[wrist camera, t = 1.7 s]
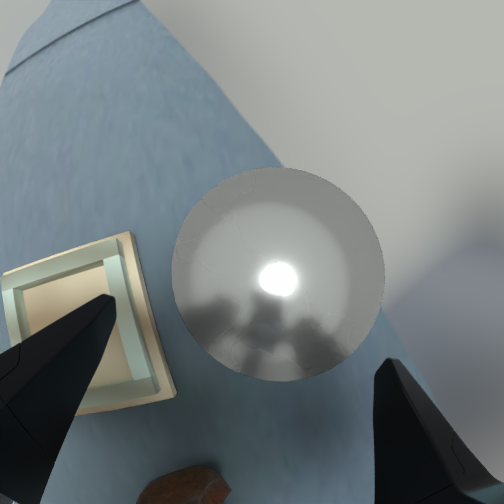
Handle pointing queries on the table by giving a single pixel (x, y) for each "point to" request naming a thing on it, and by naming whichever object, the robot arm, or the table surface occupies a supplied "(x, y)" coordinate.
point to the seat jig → (80, 292)
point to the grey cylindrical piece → (278, 274)
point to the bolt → (187, 488)
